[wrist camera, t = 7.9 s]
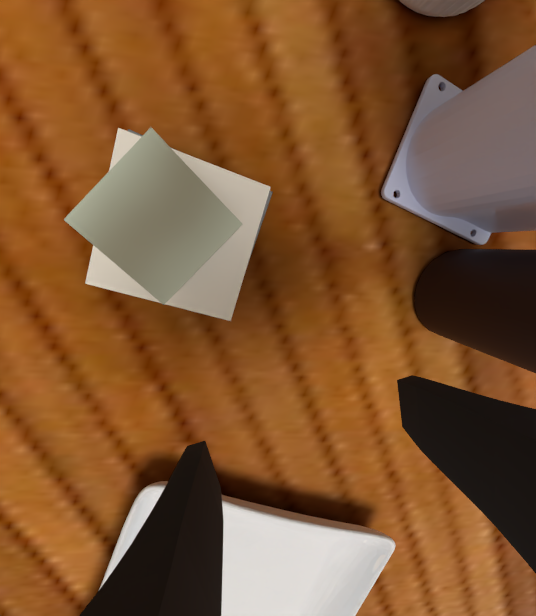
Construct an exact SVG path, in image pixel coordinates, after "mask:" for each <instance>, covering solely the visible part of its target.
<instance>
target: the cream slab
mask: <svg viewBox="0 0 536 616" xmlns="http://www.w3.org/2000/svg"><path fill="white" fill-rule="evenodd" d="M140 138H141V136H138V135H136V134H133V133H131V132H128V131H126V130H123V129H120V128H118V132H117V136H116V141H115V146H114V150H113V155H112V160H111V165H110V169H109V171H110V170H111V169H112V168H113V167H114V166H115V165H116V164H117V162H118V161H119V160H120V159H121V158H122V157H123V156H124V155H125V154H126V153H127V152H128V151H129V150H130V149H131V148H132V147H133V146H134V144H135V143H136V142H137V141H138V140H139V139H140ZM171 149H172V148H171ZM172 150H173V151H174V152H175V153H176V154H177V155H178V156H179V157H180V158H181V159H182V160H183V162H184V163H185V164H186V165H187V166H188V167H189V168H190V169H191V170H192V171H193V172H194V173H195V174H196V175H197V176H198V177H199V178H200V179H201V181H202V182H203V183H204V184H205V185H206V186H207V187H208V188H209V189H210V190H211V191H212V192H213V193H214V194H215V195H216V196H217V197H218V198H219V200H220V201H221V202H222V203H223V204H224V205H225V206H226V207H227V208H228V209H229V210H230V211H231V212H232V213H233V214H234V215H235V216H236V217H237V218H238V220H239V221H240V222H241V223H242V225H241V226H240V228H239V229H238V230H237V231H236V232H235V233H234V234H233V235H232V236H231V237H230V238H229V239H228V240H227V241H226V242H225V243H224V244H223V245H222V246H221V247H220V248H219V249H218V250H217V251H216V252H215V253H214V254H213V255H212V257H211V258H210V259H209V260H208V261H207V262H206V263H205V264H204V265H203V266H202V267H201V268H200V269H199V270H198V271H197V272H196V273H195V274H194V275H193V276H192V277H191V278H190V279H189V280H188V281H187V282H186V283H185V284H184V285H183V286H182V287H181V288H180V289H179V290H178V291H177V292H176V293H175V294H174V295H173V296H172V297H171V298H170V299H169V300H168V301H167V302H166V303H165V304H166V305H170V306H174V307H178V308H182V309H186V310H189V311H193V312H197V313H201V314H205V315H209V316H213V317H216V318H220V319H224V320H228V321H231V318H232V315H233V312H234V308H235V305H236V302H237V298H238V295H239V292H240V288H241V285H242V282H243V278H244V275H245V271H246V268H247V265H248V261H249V258H250V255H251V251H252V248H253V245H254V241H255V238H256V235H257V231H258V228H259V224H260V221H261V218H262V214H263V211H264V208H265V204H266V201H267V198H268V194H269V191H270V188H271V187H270V186H267V185H264V184H262V183H259V182H257V181H254V180H252V179H249V178H246V177H244V176H241V175H239V174H236V173H234V172H231V171H228V170H226V169H223V168H221V167H218V166H216V165H213V164H210V163H208V162H205V161H203V160H200V159H198V158H195V157H192V156H190V155H187V154H185V153H182V152H180V151H177V150H174V149H172ZM85 284H89V285H93V286H97V287H101V288H104V289H108V290H112V291H116V292H120V293H124V294H128V295H131V296H135V297H139V298H143V299H147V300H151V301H155V302H158V303H161V302H159V301H158V300H157V299H156V298H155V297H154V296H152V295H151V294H150V293H149V292H148V291H147V290H145V289H144V288H143V287H142V286H141V285H140V284H138V283H137V282H136V281H135V280H134V279H133V278H131V277H130V276H129V275H128V274H127V273H126V272H124V271H123V270H122V269H121V268H120V267H118V266H117V265H116V264H115V263H114V262H113V261H111V260H110V259H109V258H108V257H107V256H106V255H104V254H103V253H102V252H101V251H100V250H99V249H97V248H96V247H95V246H94V245H93V249H92V254H91V259H90V263H89V268H88V273H87V277H86V282H85Z"/></svg>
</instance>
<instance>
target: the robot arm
mask: <svg viewBox="0 0 536 616" xmlns="http://www.w3.org/2000/svg"><path fill="white" fill-rule="evenodd" d="M438 86H440V88H441V91H440V90H439V88H438ZM394 191H395V192H396V194H397V196H396V198H395V197H394V196H393V193H394ZM381 195H382V197H383V198H384V199H385V200H387V201H389V202H391V203H393V204H395V205H397V206H399V207H401V208H403V209H405V210H407V211H409V212H411V213H413V214H415V215H418V216H420V217H422V218H424V219H426V220H428V221H430V222H432V223H434V224H436V225H438V226H440V227H442V228H444V229H446V230H448V231H450V232H452V233H454V234H456V235H458V236H460V237H462V238H464V239H466V240H468V241H470V242H472V243H474V244H477V245H483V244H485V243H486V242H487V241H488V239H489V237H490V235H491V233H494V232H513V231H532V230H536V45H535V46H533V47H532V48H530V49H528V50H527V51H525V52H524V53H522V54H520V55H519V56H517V57H516V58H514V59H513V60H511V61H509V62H508V63H506V64H505V65H503V66H502V67H500V68H498V69H497V70H495V71H494V72H492V73H491V74H489V75H487V76H486V77H484V78H483V79H481V80H480V81H478V82H476V83H475V84H473V85H472V86H470V87H469V88H467V89H465V90H464V91H462V90H461V89H459V88H458V87H456V86H455V85H453V84H452V83H450V82H449V81H447V80H446V79H444V78H443V77H441V76H440V75H438V74H433V75H432V76H431V77H429V78H428V79H427V81H426V83H425V85H424V88H423V90H422V92H421V95H420V97H419V100H418V102H417V105H416V107H415V109H414V112H413V114H412V117H411V119H410V122H409V124H408V126H407V129H406V131H405V134H404V136H403V139H402V141H401V143H400V146H399V148H398V151H397V153H396V156H395V158H394V160H393V163H392V165H391V168H390V170H389V173H388V175H387V177H386V180H385V182H384V185H383V187H382V190H381ZM471 231H472V234H470V233H471ZM397 383H398V392H399V401H400V409H401V418H402V427H403V428H404V429H405V431H406V432H407V433H408V435H409V436H410V437H411V438H412V440H413V441H414V442H415V443H416V445H417V446H418V447H419V448H420V450H421V451H422V452H423V453H424V454H425V455H426V456H427V457H428V458H429V459H430V460H431V461H432V462H433V463H434V464H435V465H436V466H437V467H438V468H439V469H440V470H441V471H442V472H443V473H444V474H445V475H446V476H447V477H448V478H449V479H450V480H451V481H452V482H453V483H454V484H455V485H456V486H457V487H458V488H459V489H460V490H461V491H462V492H463V493H464V494H465V495H466V496H467V497H468V498H469V499H470V500H471V501H472V502H473V503H474V504H475V505H476V506H477V507H478V508H479V509H480V510H481V511H482V512H483V513H484V514H485V515H486V517H487V518H488V519H489V520H490V521H491V522H492V523H493V524H494V525H495V526H496V527H497V528H498V530H499V531H500V532H501V533H502V534H503V535H504V537H505V538H506V539H507V540H508V541H509V542H510V544H511V545H512V546H513V547H514V548H515V549H516V550H517V552H518V553H519V554H520V555H521V556H522V557H523V559H524V560H525V561H526V562H527V563H528V565H529V566H530V567H531V568H532V569H533V571H534V572H535V573H536V409H532V408H528V407H524V406H520V405H516V404H512V403H508V402H504V401H500V400H496V399H493V398H489V397H486V396H482V395H479V394H475V393H472V392H468V391H465V390H462V389H458V388H455V387H452V386H448V385H445V384H442V383H438V382H435V381H432V380H428V379H425V378H421V377H417V376H409V377H406V378H402V379H399V380H397ZM223 523H224V521H223V507H222V495H221V487H220V484H219V481H218V478H217V475H216V472H215V469H214V466H213V463H212V460H211V457H210V454H209V451H208V448H207V445H206V442H205V441H202V442H199V443H196V444H193V445H190V446H187V448H186V449H185V451H184V453H183V455H182V456H181V458H180V460H179V462H178V464H177V466H176V468H175V470H174V472H173V474H172V475H171V477H170V479H169V481H168V483H167V485H166V486H165V488H164V490H163V492H162V494H161V495H160V497H159V499H158V501H157V502H156V504H155V506H154V508H153V509H152V511H151V513H150V514H149V516H148V518H147V519H146V521H145V523H144V524H143V526H142V527H141V529H140V531H139V532H138V534H137V536H136V537H135V539H134V540H133V542H132V544H131V545H130V547H129V548H128V550H127V551H126V553H125V554H124V556H123V557H122V559H121V560H120V562H119V563H118V565H117V566H116V567H115V569H114V570H113V572H112V573H111V574H110V576H109V577H108V579H107V580H106V581H105V583H104V584H103V586H102V587H101V588H100V590H99V591H98V592H97V594H96V595H95V596H94V598H93V599H92V600H91V602H90V603H89V604H88V605H87V607H86V608H85V609H84V611H83V612H82V613H81V614H80V616H221V608H222V569H223Z"/></svg>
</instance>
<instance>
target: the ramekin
mask: <svg viewBox="0 0 536 616" xmlns="http://www.w3.org/2000/svg"><path fill="white" fill-rule="evenodd" d="M399 1H400V2H401V3H403V4H404V5H405V6H407V7H408V8H410V9H411V10H413V11H415V12H417V13H420V14H423V15H427V16H434V17H438V16H440V17H447V16H456V15H458V14H461V13H464V12H467V11H468V10H470V9H472V8H474V7H476V6H477V5H479V4H481V3H482V2H483V1H485V0H399Z"/></svg>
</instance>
